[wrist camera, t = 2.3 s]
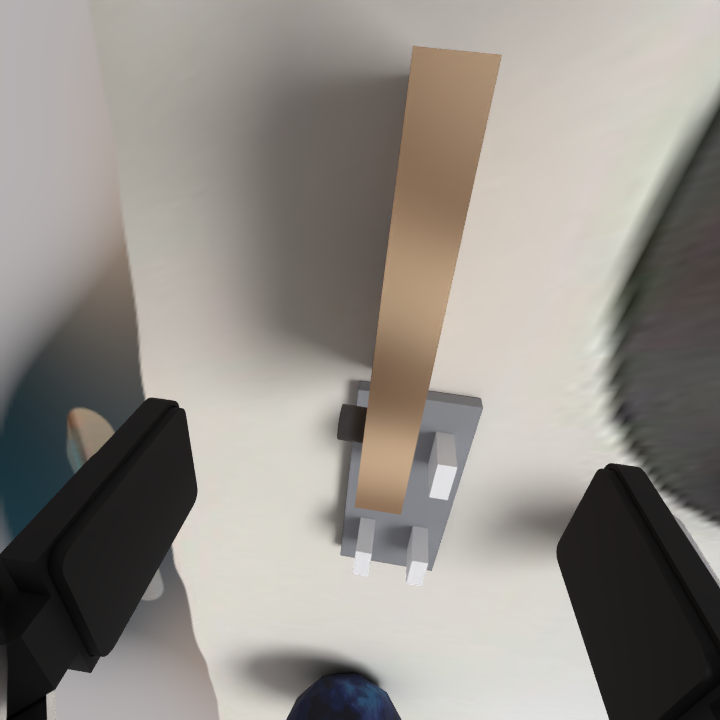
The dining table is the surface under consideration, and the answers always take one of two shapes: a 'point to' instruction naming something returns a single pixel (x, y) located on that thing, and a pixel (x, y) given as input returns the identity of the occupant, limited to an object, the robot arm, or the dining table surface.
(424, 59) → the door panel
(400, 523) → the hinge base
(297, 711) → the decorative orb
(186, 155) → the dining table surface
